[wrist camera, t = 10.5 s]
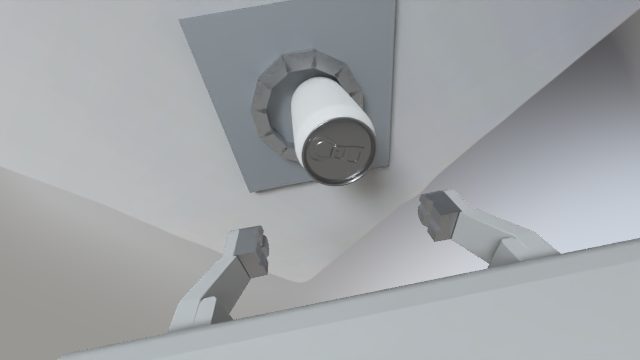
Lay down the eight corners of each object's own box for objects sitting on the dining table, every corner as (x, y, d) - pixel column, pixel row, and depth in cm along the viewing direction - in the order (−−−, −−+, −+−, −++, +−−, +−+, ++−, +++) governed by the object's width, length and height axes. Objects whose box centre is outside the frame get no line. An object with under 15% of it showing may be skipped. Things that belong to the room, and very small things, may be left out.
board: (391, -16, 22) (396, -18, 21) (385, 161, 33) (388, 165, 32) (183, 19, 21) (178, 19, 20) (250, 187, 33) (249, 192, 32)
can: (296, 69, 24) (306, 101, 14) (353, 83, 25) (397, 121, 16) (286, 127, 27) (288, 185, 17) (337, 136, 29) (365, 194, 19)
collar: (355, 40, 23) (360, 41, 22) (360, 145, 30) (364, 152, 29) (238, 61, 23) (235, 64, 21) (270, 163, 30) (269, 170, 28)
